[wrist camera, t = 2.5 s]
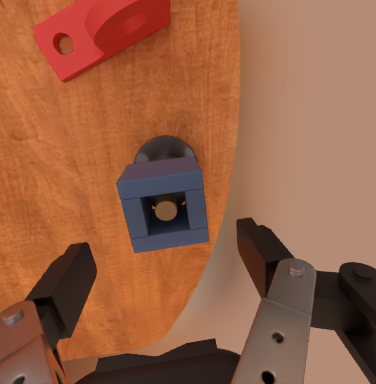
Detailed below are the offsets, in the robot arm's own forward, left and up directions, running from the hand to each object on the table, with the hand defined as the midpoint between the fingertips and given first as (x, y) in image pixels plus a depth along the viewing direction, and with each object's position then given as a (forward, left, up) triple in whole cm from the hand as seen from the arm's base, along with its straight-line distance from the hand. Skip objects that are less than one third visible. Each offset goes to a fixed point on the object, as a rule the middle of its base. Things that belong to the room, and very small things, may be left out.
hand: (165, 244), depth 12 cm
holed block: (0, 0, -8) cm, 8 cm away
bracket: (-7, -13, -16) cm, 22 cm away
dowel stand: (0, 0, -16) cm, 16 cm away
